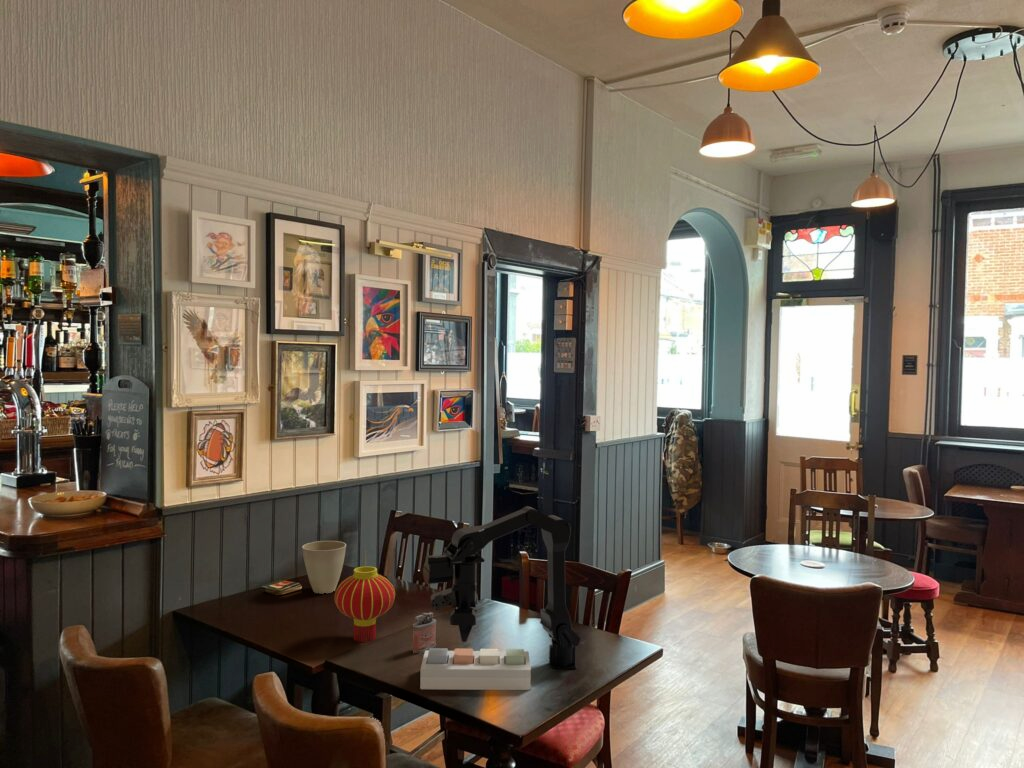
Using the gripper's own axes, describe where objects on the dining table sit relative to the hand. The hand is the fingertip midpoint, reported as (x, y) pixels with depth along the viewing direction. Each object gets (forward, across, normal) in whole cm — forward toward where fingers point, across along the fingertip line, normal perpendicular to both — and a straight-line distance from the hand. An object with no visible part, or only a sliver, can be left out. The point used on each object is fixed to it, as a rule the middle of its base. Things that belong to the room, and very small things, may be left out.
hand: (464, 641), depth 191 cm
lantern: (+10, -28, -30) cm, 42 cm away
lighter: (+10, -20, -12) cm, 25 cm away
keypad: (+10, 0, +3) cm, 10 cm away
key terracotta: (+5, 0, 0) cm, 5 cm away
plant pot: (+10, -73, -52) cm, 90 cm away
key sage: (+5, 0, +13) cm, 14 cm away
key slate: (+5, 0, -7) cm, 8 cm away
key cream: (+5, 0, +6) cm, 8 cm away
